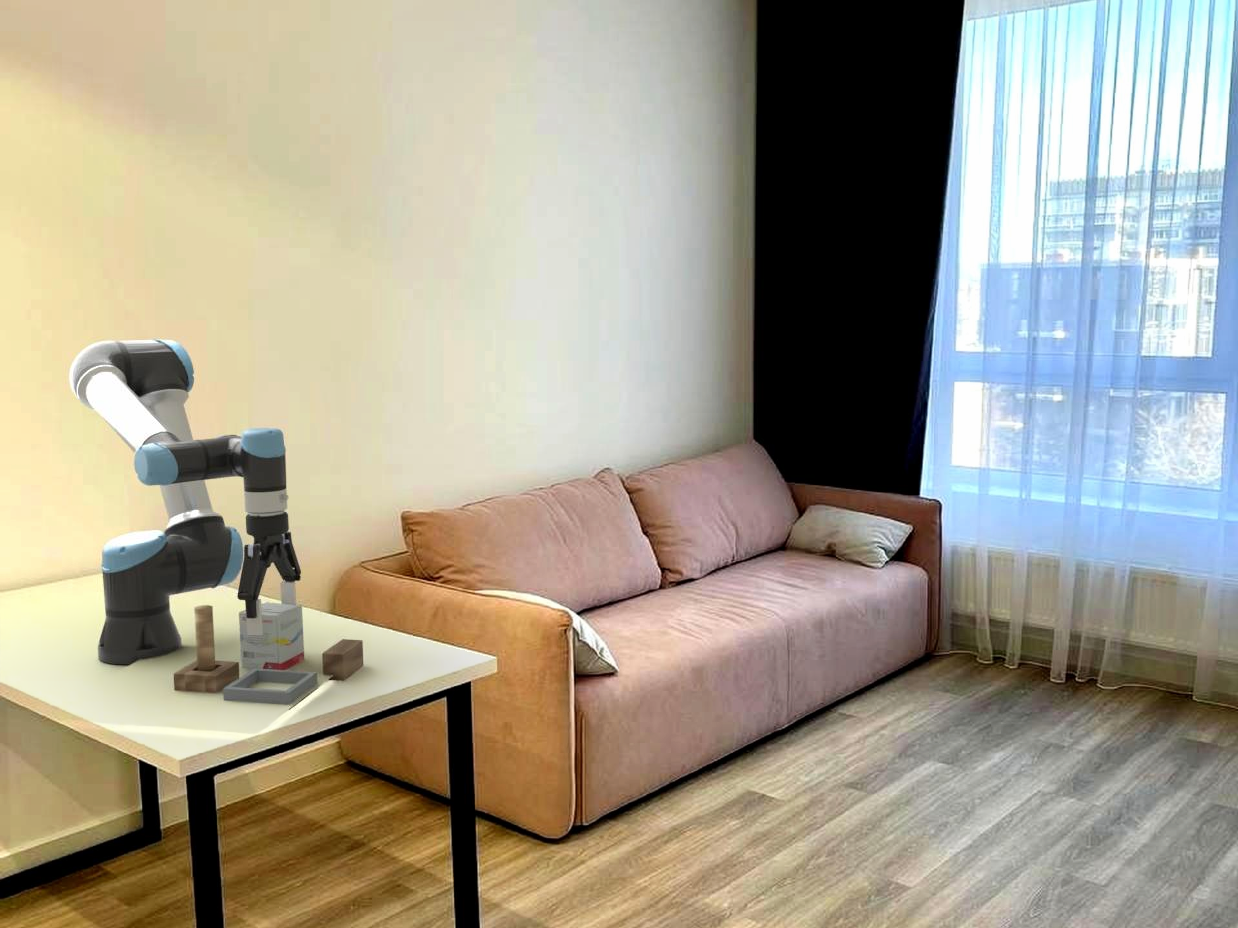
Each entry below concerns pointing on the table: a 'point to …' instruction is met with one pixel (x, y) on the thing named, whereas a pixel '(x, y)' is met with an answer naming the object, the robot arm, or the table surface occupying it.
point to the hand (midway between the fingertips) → (272, 624)
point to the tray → (243, 693)
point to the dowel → (205, 638)
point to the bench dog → (343, 659)
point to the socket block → (206, 677)
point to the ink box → (273, 638)
